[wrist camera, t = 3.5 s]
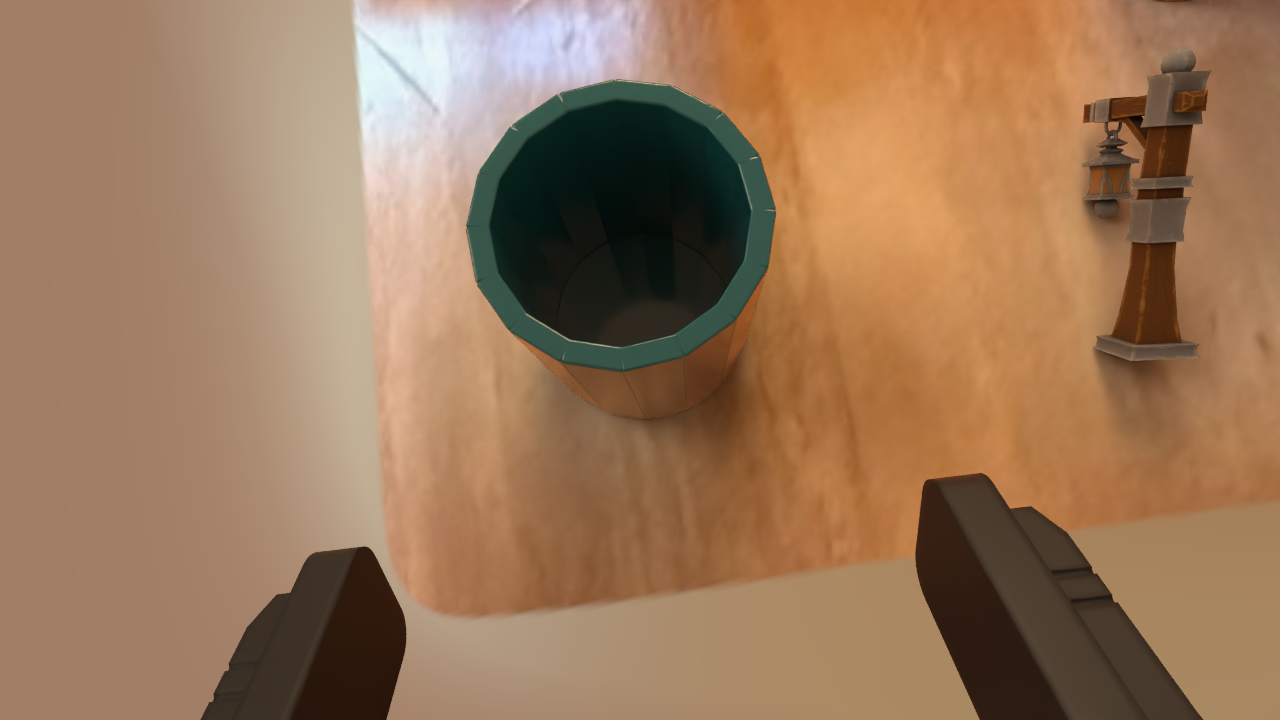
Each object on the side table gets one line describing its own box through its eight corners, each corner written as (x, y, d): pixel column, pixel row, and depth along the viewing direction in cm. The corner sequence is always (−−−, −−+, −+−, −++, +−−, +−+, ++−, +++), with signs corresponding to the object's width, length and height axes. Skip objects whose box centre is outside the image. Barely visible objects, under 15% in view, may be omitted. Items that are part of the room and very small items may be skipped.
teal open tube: (567, 440, 21) (497, 401, 14) (529, 252, 23) (445, 120, 15) (767, 392, 21) (811, 326, 13) (716, 207, 23) (729, 49, 15)
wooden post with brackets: (1126, 72, 22) (1243, 38, 17) (1104, 330, 23) (1206, 359, 19) (1065, 76, 22) (1165, 43, 17) (1048, 333, 23) (1135, 362, 19)
